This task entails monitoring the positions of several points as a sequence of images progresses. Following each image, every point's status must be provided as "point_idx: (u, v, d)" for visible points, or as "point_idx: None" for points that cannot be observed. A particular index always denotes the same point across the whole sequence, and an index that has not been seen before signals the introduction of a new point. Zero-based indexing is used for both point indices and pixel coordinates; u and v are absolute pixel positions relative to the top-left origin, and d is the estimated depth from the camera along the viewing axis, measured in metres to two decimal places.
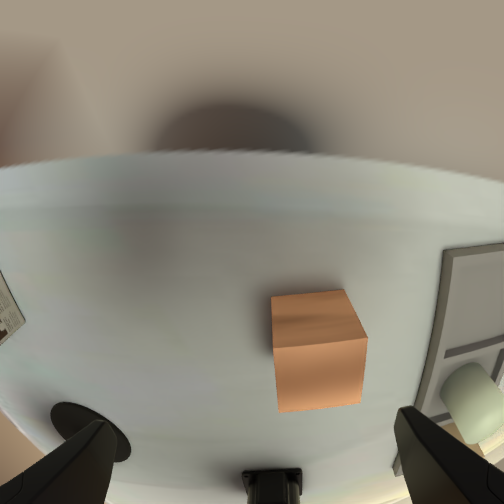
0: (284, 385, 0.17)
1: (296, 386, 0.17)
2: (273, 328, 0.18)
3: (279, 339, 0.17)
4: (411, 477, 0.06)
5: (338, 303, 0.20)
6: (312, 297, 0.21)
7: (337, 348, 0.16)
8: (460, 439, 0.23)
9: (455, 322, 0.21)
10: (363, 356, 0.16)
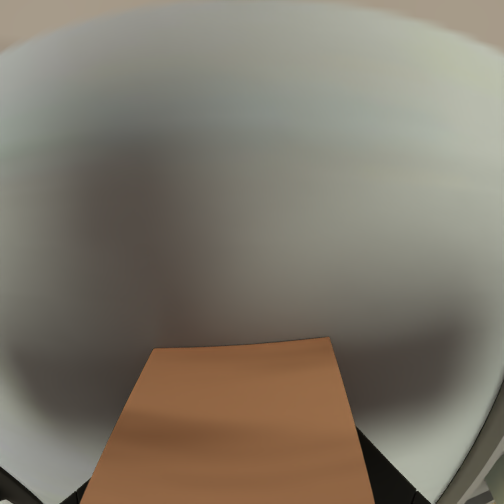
0: None
1: None
2: (105, 455, 0.05)
3: (98, 501, 0.04)
4: None
5: (308, 386, 0.07)
6: (244, 360, 0.08)
7: None
8: None
9: None
10: None
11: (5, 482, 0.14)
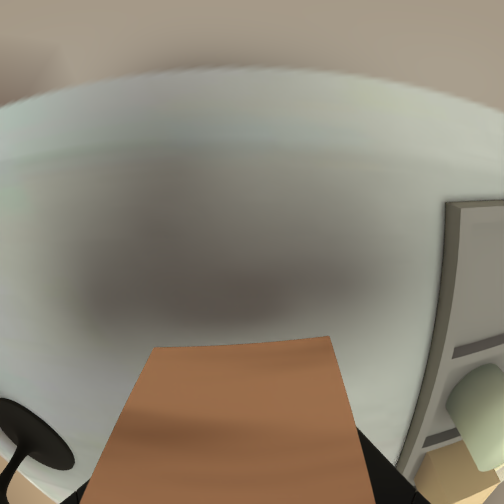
0: None
1: None
2: (105, 453, 0.05)
3: (99, 499, 0.04)
4: None
5: (308, 384, 0.07)
6: (244, 359, 0.08)
7: None
8: (470, 461, 0.17)
9: (466, 307, 0.15)
10: None
11: (38, 431, 0.20)
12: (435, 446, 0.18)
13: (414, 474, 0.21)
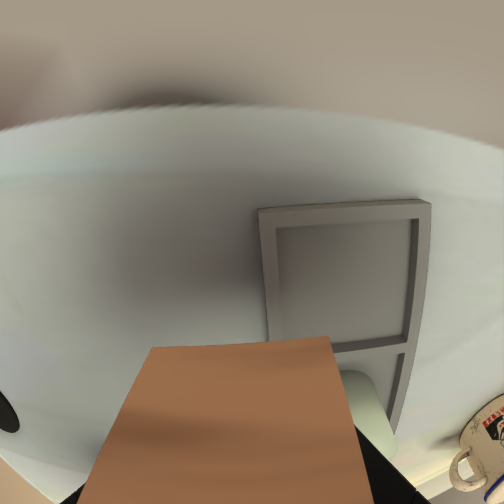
0: None
1: None
2: (103, 453, 0.05)
3: (97, 499, 0.04)
4: None
5: (307, 384, 0.07)
6: (242, 359, 0.08)
7: None
8: None
9: (298, 309, 0.19)
10: None
11: None
12: None
13: None
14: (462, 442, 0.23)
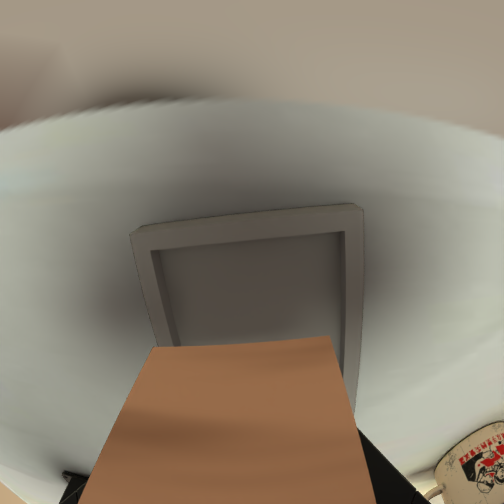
0: None
1: None
2: (103, 453, 0.05)
3: (97, 500, 0.04)
4: None
5: (308, 384, 0.07)
6: (244, 359, 0.08)
7: None
8: None
9: (200, 342, 0.15)
10: None
11: None
12: None
13: None
14: (436, 477, 0.19)
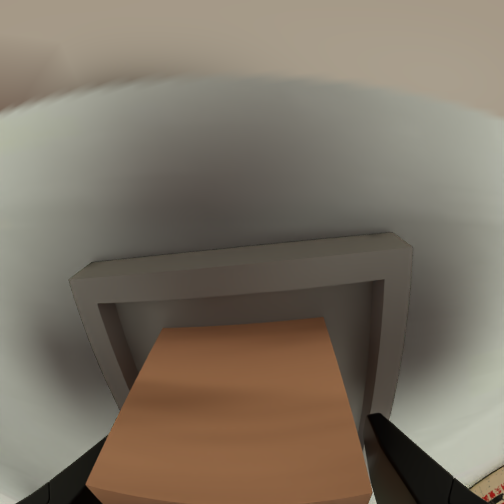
0: None
1: None
2: (119, 419, 0.06)
3: (113, 459, 0.05)
4: (377, 486, 0.06)
5: (304, 357, 0.08)
6: (246, 337, 0.09)
7: None
8: None
9: None
10: None
11: None
12: None
13: None
14: None
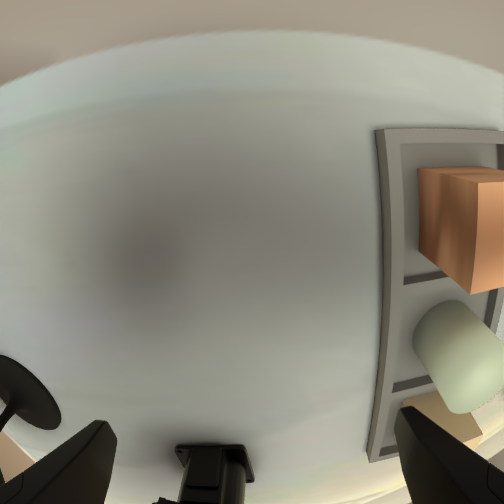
0: (483, 244, 0.11)
1: (493, 246, 0.11)
2: (455, 177, 0.12)
3: (474, 179, 0.11)
4: (411, 477, 0.06)
5: (490, 169, 0.14)
6: (461, 167, 0.15)
7: None
8: (449, 411, 0.19)
9: (413, 233, 0.17)
10: None
11: (27, 384, 0.23)
12: (407, 392, 0.20)
13: (393, 429, 0.23)
14: None
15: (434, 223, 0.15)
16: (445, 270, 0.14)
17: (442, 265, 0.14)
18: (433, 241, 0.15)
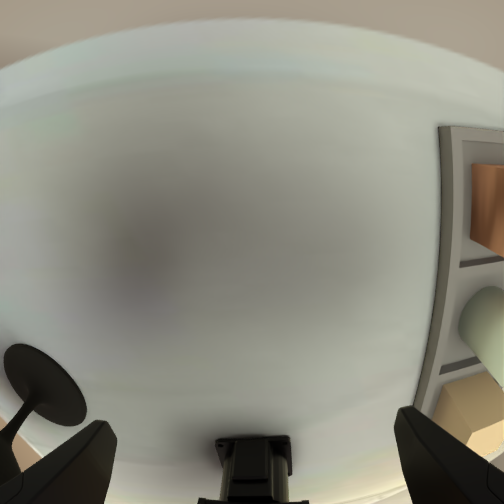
0: None
1: None
2: None
3: None
4: (411, 477, 0.06)
5: None
6: None
7: None
8: (486, 393, 0.19)
9: (466, 221, 0.17)
10: None
11: (52, 376, 0.23)
12: (451, 374, 0.20)
13: (431, 415, 0.23)
14: None
15: (488, 211, 0.15)
16: (499, 252, 0.14)
17: (496, 248, 0.15)
18: (486, 228, 0.16)
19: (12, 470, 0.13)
